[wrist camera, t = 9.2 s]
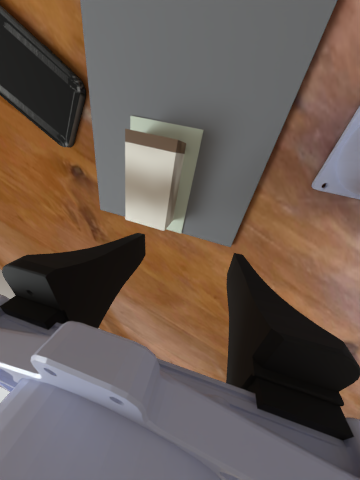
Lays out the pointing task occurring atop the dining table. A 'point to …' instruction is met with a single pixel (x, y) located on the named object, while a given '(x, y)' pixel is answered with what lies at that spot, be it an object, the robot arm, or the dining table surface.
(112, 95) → the mat
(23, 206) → the dining table surface
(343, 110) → the dining table surface
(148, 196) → the card box
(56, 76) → the phone
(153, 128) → the pad
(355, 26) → the dining table surface
